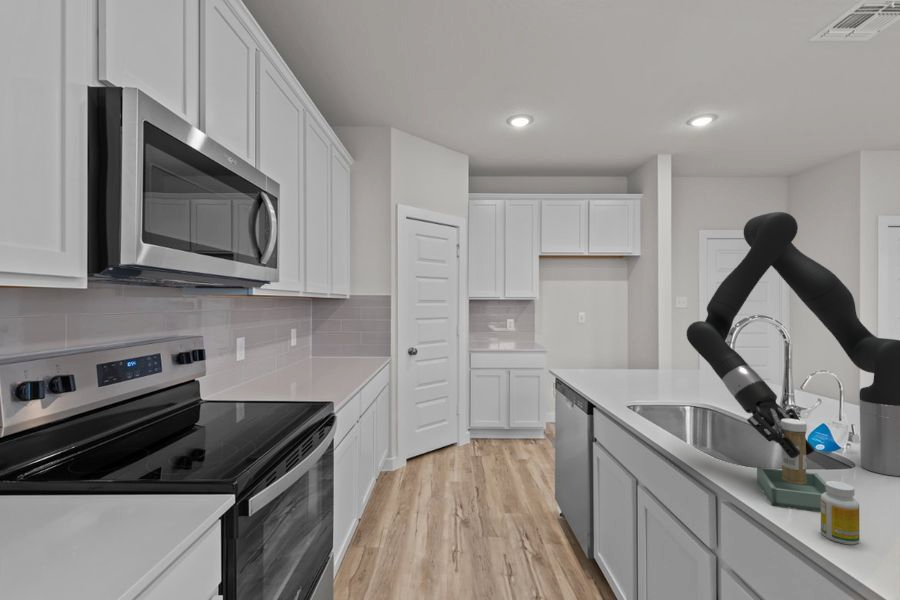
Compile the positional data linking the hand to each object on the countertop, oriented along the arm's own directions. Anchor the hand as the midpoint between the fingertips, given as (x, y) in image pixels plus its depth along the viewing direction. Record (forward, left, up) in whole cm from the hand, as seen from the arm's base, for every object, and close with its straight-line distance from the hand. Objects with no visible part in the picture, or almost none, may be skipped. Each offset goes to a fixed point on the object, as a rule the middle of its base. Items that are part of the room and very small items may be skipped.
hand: (803, 454), depth 98 cm
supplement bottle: (+11, +12, -10) cm, 19 cm away
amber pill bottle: (0, -2, -7) cm, 7 cm away
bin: (0, -2, -10) cm, 10 cm away
